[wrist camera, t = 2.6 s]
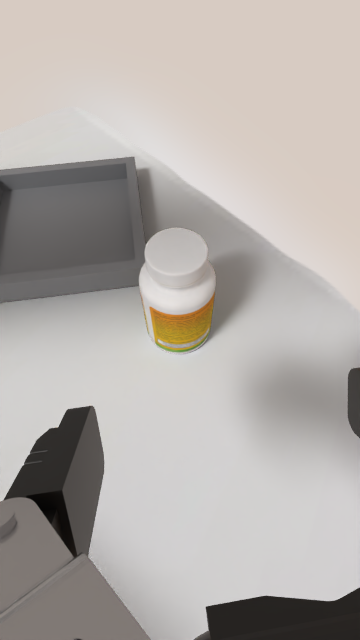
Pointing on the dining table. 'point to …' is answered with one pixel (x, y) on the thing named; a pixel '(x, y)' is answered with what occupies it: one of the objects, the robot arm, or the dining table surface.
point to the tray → (70, 229)
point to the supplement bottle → (177, 290)
